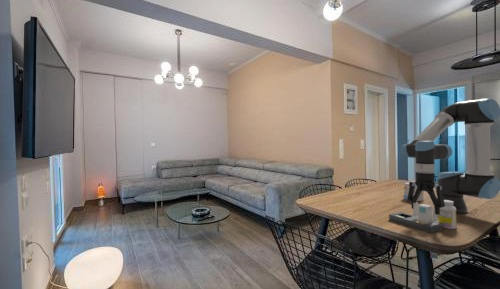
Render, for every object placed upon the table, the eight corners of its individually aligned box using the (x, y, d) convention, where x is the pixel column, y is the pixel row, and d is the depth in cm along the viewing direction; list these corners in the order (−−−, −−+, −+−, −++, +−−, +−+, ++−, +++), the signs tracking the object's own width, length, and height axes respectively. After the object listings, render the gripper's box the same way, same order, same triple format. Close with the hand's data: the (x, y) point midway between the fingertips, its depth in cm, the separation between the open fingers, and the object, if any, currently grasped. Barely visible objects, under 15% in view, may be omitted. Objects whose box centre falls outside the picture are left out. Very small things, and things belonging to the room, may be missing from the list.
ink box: (403, 198, 167) (403, 180, 167) (411, 197, 170) (411, 179, 170) (415, 201, 159) (414, 182, 159) (423, 200, 162) (423, 181, 161)
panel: (400, 216, 129) (400, 211, 129) (442, 229, 111) (442, 222, 111) (389, 219, 125) (389, 214, 125) (430, 233, 107) (430, 226, 107)
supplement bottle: (448, 224, 118) (447, 199, 118) (460, 229, 111) (460, 202, 111) (435, 224, 118) (435, 199, 117) (446, 229, 111) (446, 203, 111)
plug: (423, 225, 116) (423, 203, 116) (432, 228, 113) (432, 205, 113) (417, 227, 114) (417, 205, 114) (426, 230, 111) (426, 207, 111)
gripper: (398, 170, 121) (399, 213, 121) (446, 175, 102) (446, 226, 103) (407, 169, 124) (407, 211, 125) (454, 174, 105) (455, 223, 106)
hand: (425, 218), depth 114 cm, fingers open, 8 cm apart
